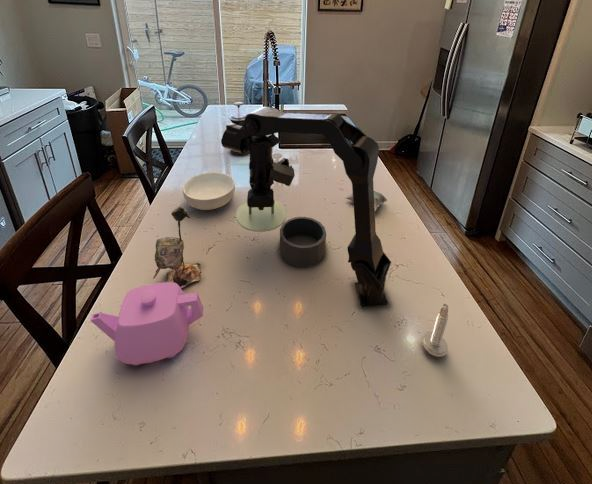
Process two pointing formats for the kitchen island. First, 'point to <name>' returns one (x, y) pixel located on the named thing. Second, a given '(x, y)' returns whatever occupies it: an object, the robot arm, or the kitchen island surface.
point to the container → (302, 241)
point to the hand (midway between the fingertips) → (261, 208)
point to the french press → (238, 120)
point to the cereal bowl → (209, 190)
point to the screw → (437, 335)
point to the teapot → (151, 322)
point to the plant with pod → (175, 256)
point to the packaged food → (377, 199)
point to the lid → (261, 217)
